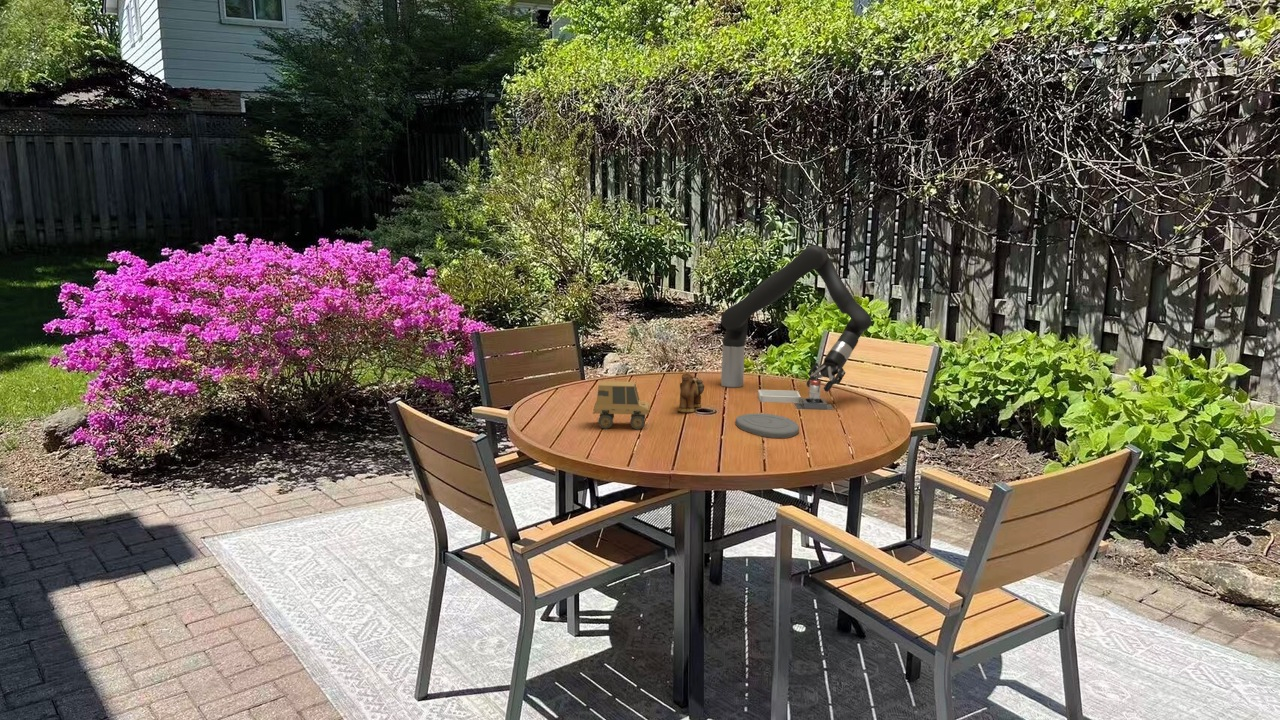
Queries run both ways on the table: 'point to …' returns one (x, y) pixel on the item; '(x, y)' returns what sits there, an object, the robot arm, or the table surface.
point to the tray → (779, 396)
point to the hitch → (813, 405)
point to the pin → (814, 391)
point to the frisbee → (768, 425)
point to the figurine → (690, 393)
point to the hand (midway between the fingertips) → (816, 388)
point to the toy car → (620, 403)
